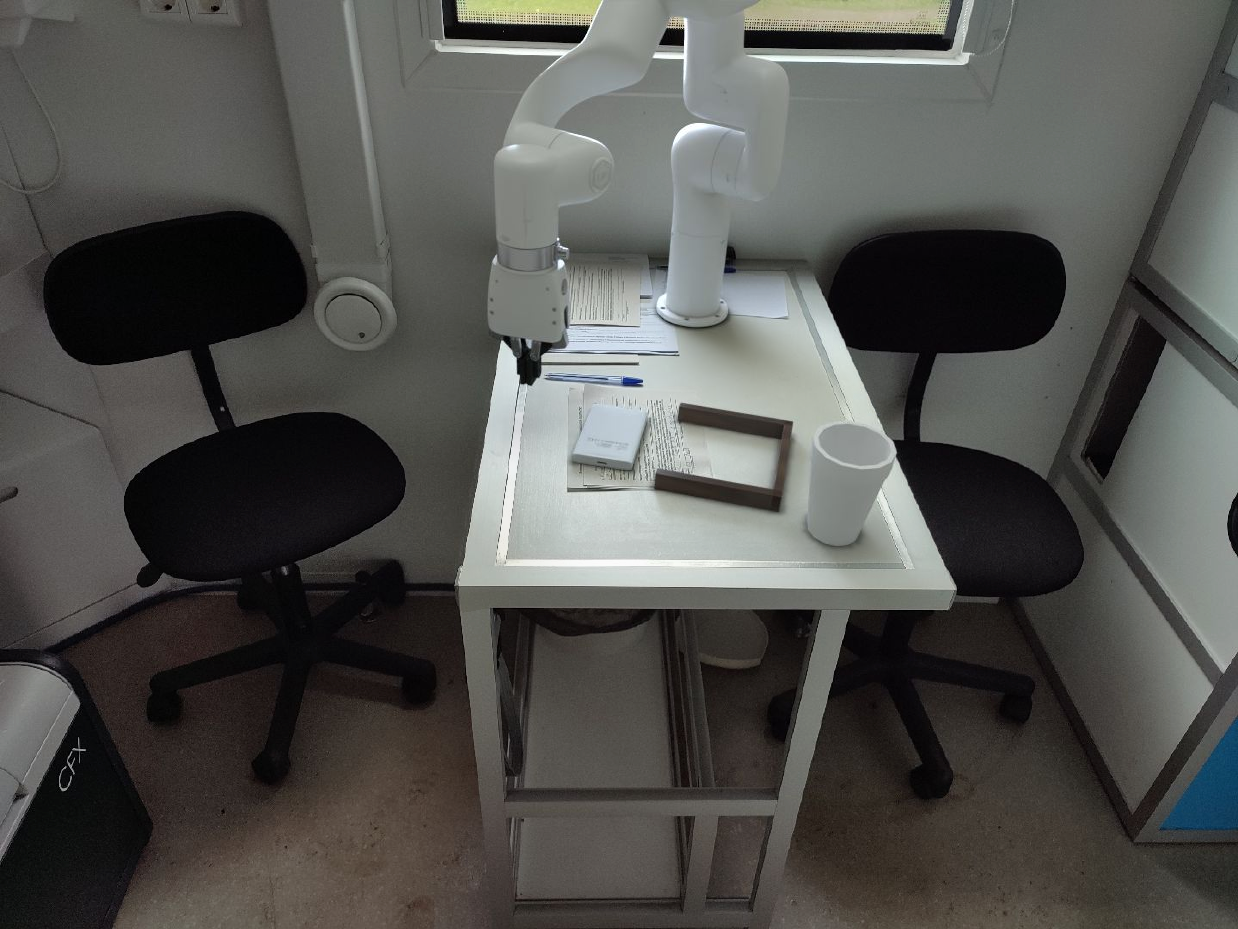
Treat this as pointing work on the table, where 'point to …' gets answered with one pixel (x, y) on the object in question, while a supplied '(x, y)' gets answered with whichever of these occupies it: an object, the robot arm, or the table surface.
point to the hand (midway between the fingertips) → (529, 379)
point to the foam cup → (845, 478)
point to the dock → (723, 488)
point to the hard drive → (610, 437)
